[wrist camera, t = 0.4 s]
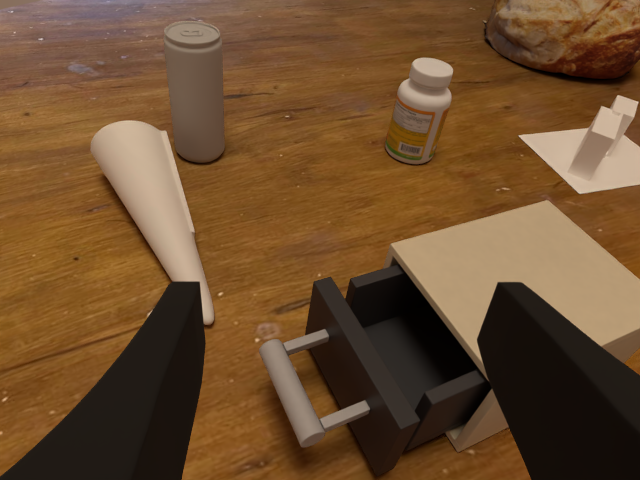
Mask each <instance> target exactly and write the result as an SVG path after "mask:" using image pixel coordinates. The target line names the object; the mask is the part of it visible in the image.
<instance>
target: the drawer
mask: <svg viewBox="0 0 640 480" xmlns="http://www.w3.org/2000/svg"><path fill="white" fill-rule="evenodd" d="M308 348H310V350H311V352H312V354H313V356H314V358H315V359H316V361H317V363H318V365H319V367H320V369H321V371H322V373H323V375H324V377H325V379H326V381H327V382H328V384H329V386H330V388H331V390H332V392H333V394H334V396H335V398H336V400H337V402H338V404H339V405H340V407H341V409H342V410H340V411H337V412H335V413H332V414H330V415H328V416H325V417H323V418H320V420H319V419H318V417H317V415H316V413H315V411H314V409H313V407H312V405H311V403H310V400H309V398H308V396H307V394H306V392H305V390H304V388H303V386H302V384H301V382H300V380H299V378H298V376H297V374H296V372H295V369H294V367H293V365H292V363H291V361H290V359H289V357H288V355H291V354H294V353H297V352H300V351H302V350H305V349H308ZM259 353H260V355H261V357H262V360H263V362H264V364H265V366H266V369H267V371H268V373H269V375H270V378H271V380H272V382H273V385H274V387H275V389H276V391H277V394H278V396H279V398H280V400H281V403H282V405H283V407H284V409H285V412H286V414H287V416H288V418H289V421H290V423H291V425H292V428H293V430H294V432H295V434H296V437H297V439H298V441H299V443H300V446H301V447H308V446H311V445H314V444H315V443H317V442H319V441H320V440H321V439H322V438H323V437H324V436H325V432H327V431H330V430H332V429H334V428H337V427H339V426H342V425H344V424H346V423H349V425H350V426H351V428H352V430H353V432H354V434H355V436H356V438H357V440H358V442H359V444H360V446H361V448H362V449H363V451H364V453H365V455H366V457H367V459H368V461H369V463H370V465H371V467H372V469H373V470H374V472H375V474H376V476H379V475H381V474H383V473H385V472H387V471H389V470H391V469H393V468H394V467H395V465H396V463H397V461H398V460H399V458H400V456H401V454H402V452H403V451H404V449H405V450H406V451H407V450H410V449H412V448H414V447H416V446H418V445H420V444H422V443H424V442H426V441H428V440H431V439H433V438H435V437H437V436H439V435H441V434H443V433H445V432H447V431H449V430H452V429H454V428H456V427H458V426H460V425H462V424H464V423H466V422H468V421H469V420H470V418H471V417H472V416H473V414H474V413H475V411H476V410H477V409H478V407H479V406H480V404H481V403H482V402H483V400H484V399H485V397H486V396H487V395H488V393H489V392H490V390H491V389H492V387H491V385H490V383H489V381H488V380H487V379H486V377H485V376H484V375H483V373H482V372H481V371H480V369H479V368H478V367H477V365H476V364H475V363H474V361H473V360H472V359H471V358H470V356H469V355H468V354H467V352H466V351H465V350H464V348H463V347H462V346H461V344H460V343H459V342H458V340H457V339H456V338H455V336H454V335H453V334H452V333H451V331H450V330H449V329H448V327H447V326H446V325H445V323H444V322H443V321H442V319H441V318H440V317H439V315H438V314H437V313H436V311H435V310H434V309H433V308H432V306H431V305H430V304H429V302H428V301H427V300H426V298H425V297H424V296H423V294H422V293H421V292H420V290H419V289H418V288H417V286H416V285H415V284H414V283H413V281H412V280H411V279H410V277H409V276H408V275H407V273H406V272H405V271H404V269H403V268H402V267H401V265H400V264H398V265H394V266H391V267H388V268H384V269H381V270H378V271H374V272H371V273H368V274H364V275H361V276H358V277H354V278H351V279H350V282H349V286H348V291H347V295H346V299H344V297H343V296H342V294H341V292H340V291H339V289H338V288H337V286H336V284H335V283H334V281H333V280H332V278H331V277H328V278H324V279H321V280H318V281H314V283H313V290H312V296H311V302H310V308H309V314H308V321H307V327H306V333H305V336H302V337H299V338H296V339H293V340H290V341H288V342H285V343H283V345H282V343H281V341H280V340H278V339H273V340H270V341H268V342H266V343H264V344H263V345H262V346H261V347H260V349H259Z"/></svg>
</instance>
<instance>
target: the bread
mask: <svg viewBox="0 0 640 480" xmlns="http://www.w3.org/2000/svg"><path fill="white" fill-rule="evenodd" d="M483 22H485V23H486V21H483ZM485 26H486V29H485V30H487V31H486V33H487V35H485V37H486V39H488V40H490V43H491V46H492V47H493V48H494V49H495V50H496V51H497V52H498V53H500V54H501V55H503V56H504V57H507V58H509V59H510V60H512V61H514V62H517V63H520V64H522V65H525V66H527V67H531V68H535V69H539V70H543V71H548V72H562V73H564V74H567V75H571V76H576V77H578V76H582V77H586V78H594V79H613V78H618V77H622V76H624V75H626V74H628V73H629V70H630V69H632V67H633V66H634V65H635V63H636V62H637V61H638V60H640V0H495V1H494V4H493V6H492V10H491V14H490V19H489V20H488V22H487V23H486V24H485Z"/></svg>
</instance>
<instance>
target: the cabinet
mask: <svg viewBox="0 0 640 480" xmlns="http://www.w3.org/2000/svg"><path fill="white" fill-rule="evenodd" d="M398 264H400V265H401V267H402V268H403V269H404V271H405V272H406V273H407V275H408V276H409V277H410V279H411V280H412V281H413V283H414V284H415V285H416V286H417V288H418V289H419V290H420V292H421V293H422V294H423V296H424V297H425V298H426V300H427V301H428V302H429V304H430V305H431V306H432V308H433V309H434V310H435V311H436V313H437V314H438V315H439V317H440V318H441V319H442V321H443V322H444V323H445V325H446V326H447V327H448V329H449V330H450V331H451V333H452V334H453V335H454V336H455V338H456V339H457V340H458V342H459V343H460V344H461V346H462V347H463V348H464V350H465V351H466V352H467V354H468V355H469V356H470V358H471V359H472V360H473V361H474V363H475V364H476V365H477V367H478V368H479V369H480V371H481V372H482V373H483V375H484V376H485V377H486V379H487V380H488V378H487V375H486V372H485V368H484V365H483V362H482V358H481V354H480V351H479V347H478V343H477V337H478V335H479V332H480V329H481V326H482V324H483V321H484V318H485V316H486V313H487V310H488V307H489V305H490V302H491V299H492V297H493V294H494V291H495V288H496V286H497V283H498V282H522V283H524V284H525V285H526V286H528V287H529V288H530V289H531V290H533V291H534V292H535V293H536V294H538V295H539V296H540V297H541V298H543V299H544V300H545V301H546V302H547V303H549V304H550V305H551V306H552V307H553V308H555V309H556V310H557V311H558V312H559V313H561V314H562V315H563V316H564V317H565V318H567V319H568V320H569V321H570V322H571V323H573V324H574V325H575V326H576V327H578V328H579V329H580V330H581V331H582V332H584V333H585V334H586V335H587V336H589V337H590V338H591V339H592V340H594V341H595V342H596V343H597V344H599V345H600V346H601V347H603V348H604V349H605V350H606V351H608V352H609V353H610V354H612V355H613V356H614V357H615V358H617V359H618V360H620V361H621V362H622V363H624V362H625V361H627V360H628V359H629V358H630V357H631V356H632V355H633V354H634V353H635V352H636V351H637V350H638V349H639V348H640V280H639V279H638V278H637V277H636V276H635V275H634V274H632V273H631V272H630V271H629V270H628V269H627V268H625V267H624V266H623V265H622V264H621V263H620V262H618V261H617V260H616V259H615V258H614V257H613V256H612V255H610V254H609V253H608V252H607V251H606V250H605V249H603V248H602V247H601V246H600V245H599V244H598V243H597V242H595V241H594V240H593V239H592V238H591V237H590V236H588V235H587V234H586V233H585V232H584V231H583V230H582V229H580V228H579V227H578V226H577V225H576V224H575V223H573V222H572V221H571V220H570V219H569V218H568V217H566V216H565V215H564V214H563V213H562V212H561V211H560V210H558V209H557V208H556V207H555V206H554V205H553V204H551V203H550V202H549V201H548V200H546V201H543V202H539V203H536V204H532V205H528V206H525V207H521V208H518V209H514V210H510V211H507V212H503V213H500V214H496V215H492V216H489V217H485V218H482V219H478V220H474V221H471V222H467V223H464V224H460V225H456V226H453V227H449V228H446V229H442V230H438V231H435V232H431V233H428V234H424V235H420V236H417V237H413V238H410V239H406V240H402V241H399V242H395V243H392V244H390V247H389V251H388V254H387V257H386V260H385V263H384V267H383V269H384V268H388V267H391V266H394V265H398ZM488 381H489V380H488ZM508 427H509V426H508V424H507V422H506V419H505V417H504V415H503V413H502V410H501V408H500V406H499V404H498V401H497V399H496V397H495V394H494V392H493V390H492V389H491V390H490V392H489V393H488V395H487V396H486V397H485V399H484V400H483V402H482V403H481V404H480V406H479V407H478V409H477V410H476V411H475V413H474V414H473V416H472V417H471V418H470V420H469V421H468V422H466V423H464V424H462V425H460V426H458V427H456V428H454V429H452V430H449V431H447V432H445V434H446V435H447V437H448V438H449V440H450V441H451V443H452V444H453V446H454V448H455V449H456V451H457V452H460V451H462V450H464V449H466V448H468V447H470V446H472V445H474V444H476V443H478V442H480V441H482V440H484V439H486V438H488V437H490V436H492V435H494V434H496V433H498V432H500V431H502V430H504V429H506V428H508Z"/></svg>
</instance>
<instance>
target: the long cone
mask: <svg viewBox="0 0 640 480" xmlns="http://www.w3.org/2000/svg"><path fill="white" fill-rule="evenodd" d="M91 152H92V155H93V157H94V158H95V160H96V162H97V163H98V165H99V166H100V168H101V170H102V171H103V173H104V174H105V176H106V177H107V179H108V180H109V182H110V183H111V185H112V186H113V188H114V190H115V191H116V193H117V194H118V196H119V198H120V199H121V201H122V202H123V204H124V206H125V207H126V209H127V210H128V212H129V213H130V215H131V217H132V218H133V220H134V221H135V223H136V224H137V226H138V228H139V229H140V231H141V232H142V234H143V236H144V237H145V239H146V240H147V242H148V243H149V245H150V247H151V248H152V250H153V251H154V253H155V255H156V256H157V258H158V259H159V261H160V263H161V264H162V266H163V267H164V269H165V271H166V272H167V274H168V275H169V277H170V278H171V280H172V282H173V281H200V289H201V300H202V311H203V322H204V324H205V325H210V324H212V323H213V321H214V308H213V303H212V299H211V295H210V292H209V289H208V285H207V282H206V278H205V274H204V271H203V267H202V264H201V261H200V257H199V254H198V251H197V248H196V244H195V240H194V237H195V230H194V227H193V223H192V220H191V216H190V213H189V209H188V206H187V202H186V199H185V195H184V192H183V188H182V185H181V181H180V177H179V174H178V170H177V167H176V163H175V160H174V156H173V153H172V149H171V146H170V142H169V139H168V135H167V132H166V131H160V130H158V129H157V128H155V127H153V126H151V125H149V124H147V123H144V122H140V121H119V122H115V123H112V124H109V125H107V126H105V127H103V128H102V129H100V130H99V131H98V132H97V133H96V134H95V136H94V137H93V139H92V142H91Z"/></svg>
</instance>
